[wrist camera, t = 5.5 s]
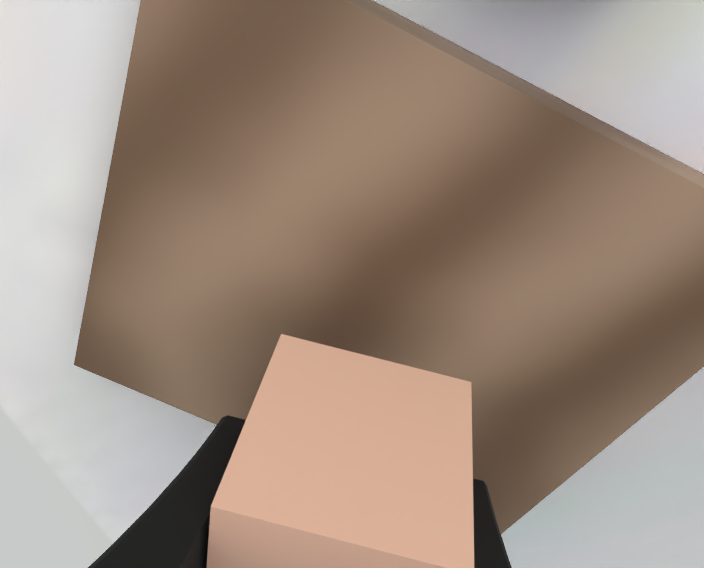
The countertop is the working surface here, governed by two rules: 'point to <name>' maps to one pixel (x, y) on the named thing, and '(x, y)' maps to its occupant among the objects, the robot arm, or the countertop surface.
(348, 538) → the terracotta block
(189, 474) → the robot arm
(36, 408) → the countertop surface
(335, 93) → the walnut board
